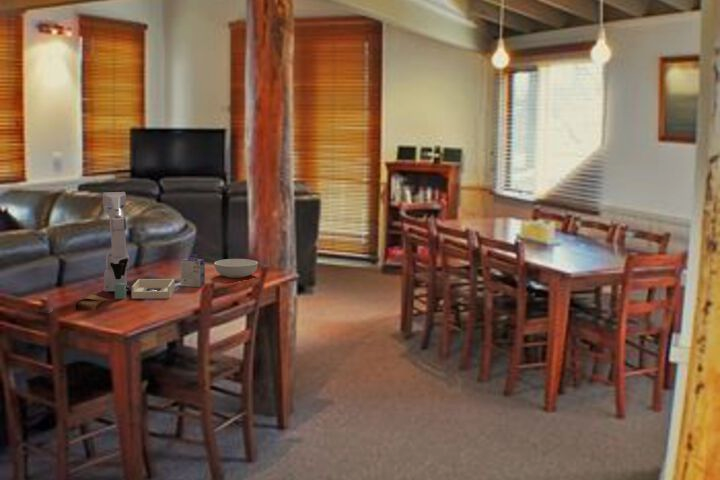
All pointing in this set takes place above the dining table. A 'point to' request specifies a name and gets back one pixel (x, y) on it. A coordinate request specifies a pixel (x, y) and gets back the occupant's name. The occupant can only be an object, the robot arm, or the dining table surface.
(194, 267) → the ink cartridge box
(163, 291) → the walled box
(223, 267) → the serving bowl
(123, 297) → the block
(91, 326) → the dining table surface
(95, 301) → the sunglasses case
